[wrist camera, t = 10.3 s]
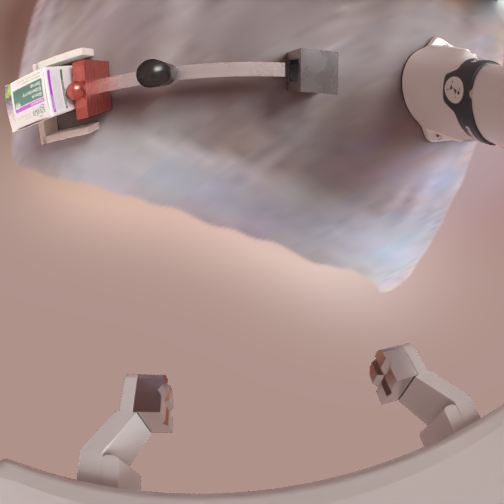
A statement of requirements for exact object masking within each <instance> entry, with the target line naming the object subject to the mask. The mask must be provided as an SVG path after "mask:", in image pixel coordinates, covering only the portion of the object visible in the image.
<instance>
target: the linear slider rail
mask: <svg viewBox="0 0 504 504" xmlns="http://www.w3.org/2000/svg"><path fill="white" fill-rule="evenodd" d="M72 69H73V82H71V83H70V84H69V85H68V87H67V89H66V95H67V97H68V98H69V99H71V100H75V107H76V115H77V120H80V119H84V118H88V117H91V116H94V115H96V114H99V113H102V112H105V111H107V110H110V109H112V105H111V94H110V91H113V90H118V89H123V88H128V87H134V86H140V85H142V86H144V87H158V86H166V85H169V84H171V83H173V82H174V81H177V80H187V79H199V78H213V77H238V76H273V77H285V63H280V62H224V63H205V64H192V65H182V66H173V65H171V64H168V63H165V62H162V61H159V60H156V59H149V60H146V61H144V62H143V63H142V64H141V65H140V66H139V67H138V69H137V72H132V73H127V74H122V75H117V76H112V77H109V62H108V61H98V60H86V59H83V60H80V61H76V62H73V63H72Z"/></svg>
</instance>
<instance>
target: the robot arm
mask: <svg viewBox="0 0 504 504" xmlns="http://www.w3.org/2000/svg"><path fill="white" fill-rule="evenodd" d="M402 89H403V95H404V99H405V102H406V105H407V107H408V109H409V111H410V113H411V114H412V116H413V117H414V118H415V119H416V120H417V122H418V123H419V124H420V125H421V127H422V130H423V133H424V135H425V137H426V139H427V140H428V141H430V142H443V141H458V142H462V140H473V139H476V140H478V141H480V142H482V143H485V144H489V145H498V146H500V147H502V148H504V66H501V65H500V64H498V63H496V62H494V61H490V60H487V59H481V58H477V55H476V54H475V53H473V52H469V50H468V49H466V48H460V47H453V46H452V45H450V44H449V43H447V42H446V41H444V40H443V39H441V38H438V37H434V38H432V39H431V40H430V42H429V43H428V45H427V46H426V47H424V48H422V49H420V50H418V51H416V52H415V53H414V54H412V55H411V57H410V58H409V59H408V61H407V63H406V65H405V68H404V71H403V77H402ZM436 134H437V136H436ZM375 357H376V359H375V360H374V361H373V362H372V363H371V366H370V378H371V380H372V383H373V384H374V385H376V386H377V387H378V388H377V391H376V392H377V395H378V397H379V399H380V402H381V404H385V403H389V402H393V401H397V400H399V402H400V403H402V404H403V405H404V406H405V407H406V408H408V409H409V410H410V411H411V412H412V413H413V414H415V415H416V416H417V417H418V418H419V419H421V420H422V421H423V422H424V423H425V424H426V425H428V426H427V427H426V428H425V429H424V430H423V431H421V433H420V438H421V440H422V442H423V445H424V447H423V448H421V449H418V450H416V451H413V452H411V453H408V454H406V455H403V456H401V457H398V458H395V459H393V460H390V461H387V462H384V463H382V464H378V465H376V466H373V467H369V468H366V469H363V470H359V471H356V472H352V473H349V474H345V475H341V476H337V477H333V478H329V479H325V480H320V481H315V482H311V483H305V484H300V485H294V486H289V487H283V488H275V489H267V490H258V491H248V492H235V493H213V494H183V493H163V492H149V491H141V476H140V475H139V473H137V472H136V471H134V470H133V469H132V468H131V467H129V466H130V465H131V463H132V462H133V460H134V459H135V457H136V456H137V454H138V453H139V452H140V450H141V449H142V447H143V446H144V444H145V443H146V441H147V440H148V438H149V437H150V435H151V433H153V432H154V433H172V429H173V428H172V427H173V417H172V415H171V413H170V411H171V410H172V409H173V393H172V389H171V386H170V385H168V384H167V383H168V379H167V377H166V375H140V374H127V375H126V376H125V378H124V384H123V389H122V395H121V401H120V408H119V411H115V412H114V413H113V414H112V416H111V417H110V418H109V419H108V420H107V421H106V422H105V423H104V424H103V425H102V427H101V428H100V429H99V430H98V431H97V432H96V433H95V434H94V436H93V437H92V438H91V439H90V440H89V441H88V442H87V443H86V444H85V446H84V447H83V448H82V449H81V453H80V459H79V466H78V473H77V480H75V479H71V478H67V477H63V476H60V475H56V474H52V473H49V472H45V471H42V470H39V469H36V468H33V467H30V466H27V465H24V464H21V463H19V462H16V461H14V460H11V459H3V460H1V461H0V504H504V404H503V405H501V406H500V407H498V408H497V409H495V410H493V411H492V412H490V413H489V414H487V415H485V416H484V417H482V418H480V416H479V414H478V412H477V410H476V408H475V406H474V404H473V402H472V400H471V398H470V396H469V395H468V394H466V393H464V392H463V391H461V390H460V389H458V388H456V387H455V386H453V385H452V384H450V383H448V382H447V381H445V380H444V379H442V378H441V377H439V376H437V375H436V374H434V373H433V372H431V371H430V372H428V371H427V369H426V367H425V366H424V364H423V362H422V360H421V358H420V357H419V355H418V353H417V352H416V350H415V348H414V346H413V345H412V344H411V343H406V344H403V345H398V346H394V347H390V348H386V349H382V350H379V351H377V353H376V355H375Z"/></svg>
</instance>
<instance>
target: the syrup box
mask: <svg viewBox="0 0 504 504" xmlns="http://www.w3.org/2000/svg"><path fill="white" fill-rule="evenodd" d="M71 82H73V69H72V66H55V67H43V68H41V69H39V70H36V71H34V72H32V73H30V74H28V75H26V76H24V77H22V78H20V79H18V80H16V81H14V82H12V83H11V84H9V85H7V86H5V96H6V105H7V111H8V116H9V120H10V124H11V128H12V132H17V131H19V130H21V129H24V128H27V127H30V126H32V125H35V124H37V123H40V122H43V121H45V120H48V119H50V118H53V117H56V116H58V115H61V114H64V113H66V112H69V111H72V110H75V109H76V107H75V100H71V99H69V98H68V97H67V95H66V89H67V87H68V85H69V84H70V83H71Z"/></svg>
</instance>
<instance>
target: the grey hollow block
mask: <svg viewBox="0 0 504 504" xmlns="http://www.w3.org/2000/svg"><path fill="white" fill-rule="evenodd" d="M337 86H338V52H332V51H324V50H315V49H305V48H300V49H297V50H294V51H291V52H288V53H287V90H292V91H298V92H310V93H324V94H335V95H337Z"/></svg>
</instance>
